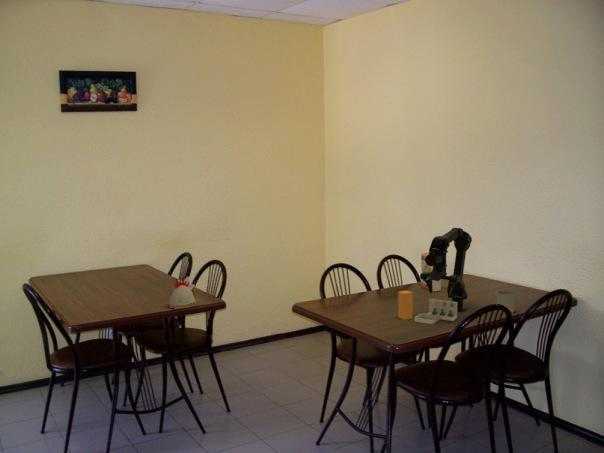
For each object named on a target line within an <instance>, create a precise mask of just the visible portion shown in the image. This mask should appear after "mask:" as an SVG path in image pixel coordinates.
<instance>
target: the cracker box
mask: <svg viewBox="0 0 604 453" xmlns="http://www.w3.org/2000/svg"><path fill="white" fill-rule="evenodd" d="M427 255H429V252H422V253H421V258H420V259H421V260H420V262H421V267H420V268H421V271H420V272H421V273H423V272H431V271H432V270H433V266H428V265H427V264H426V262H425V258H426V256H427ZM421 273H420V274H421ZM420 280H421V288H423V289H426V290H427V289H428V286H427V284H426V282H425V281H423V279H420ZM439 290H441V291H442V279H440V281H435V280H432V291H438V292H440V291H439ZM427 291H429V289H428V290H427Z"/></svg>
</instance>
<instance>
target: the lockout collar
mask: <svg viewBox="0 0 604 453" xmlns="http://www.w3.org/2000/svg"><path fill="white" fill-rule="evenodd" d="M439 321H440V319H439V315H433V314H426V313H425V312H422V313H419V314H417V315H416V316H414V322H415V323H422V324H429V325H434V324H436V323H437V322H439Z"/></svg>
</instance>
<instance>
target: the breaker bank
mask: <svg viewBox="0 0 604 453" xmlns="http://www.w3.org/2000/svg"><path fill="white" fill-rule="evenodd" d="M428 300H429V301H428V307H429V308H428V311H427V313H426V314H433V315H439V320H444V321H451V322H454V321H455V320H457V318H458V311H457V302H452V300H451V301H450V300H442V299H435V298H429V299H428Z"/></svg>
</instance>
